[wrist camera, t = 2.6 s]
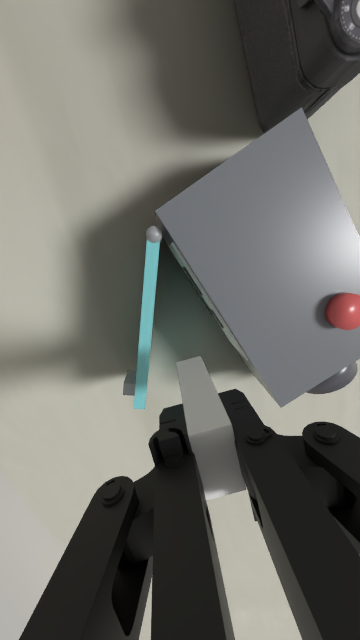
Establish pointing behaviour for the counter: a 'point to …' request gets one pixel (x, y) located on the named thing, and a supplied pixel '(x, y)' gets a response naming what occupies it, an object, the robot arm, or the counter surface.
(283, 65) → the camera
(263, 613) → the counter surface
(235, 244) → the grey boxy piece
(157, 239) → the door
